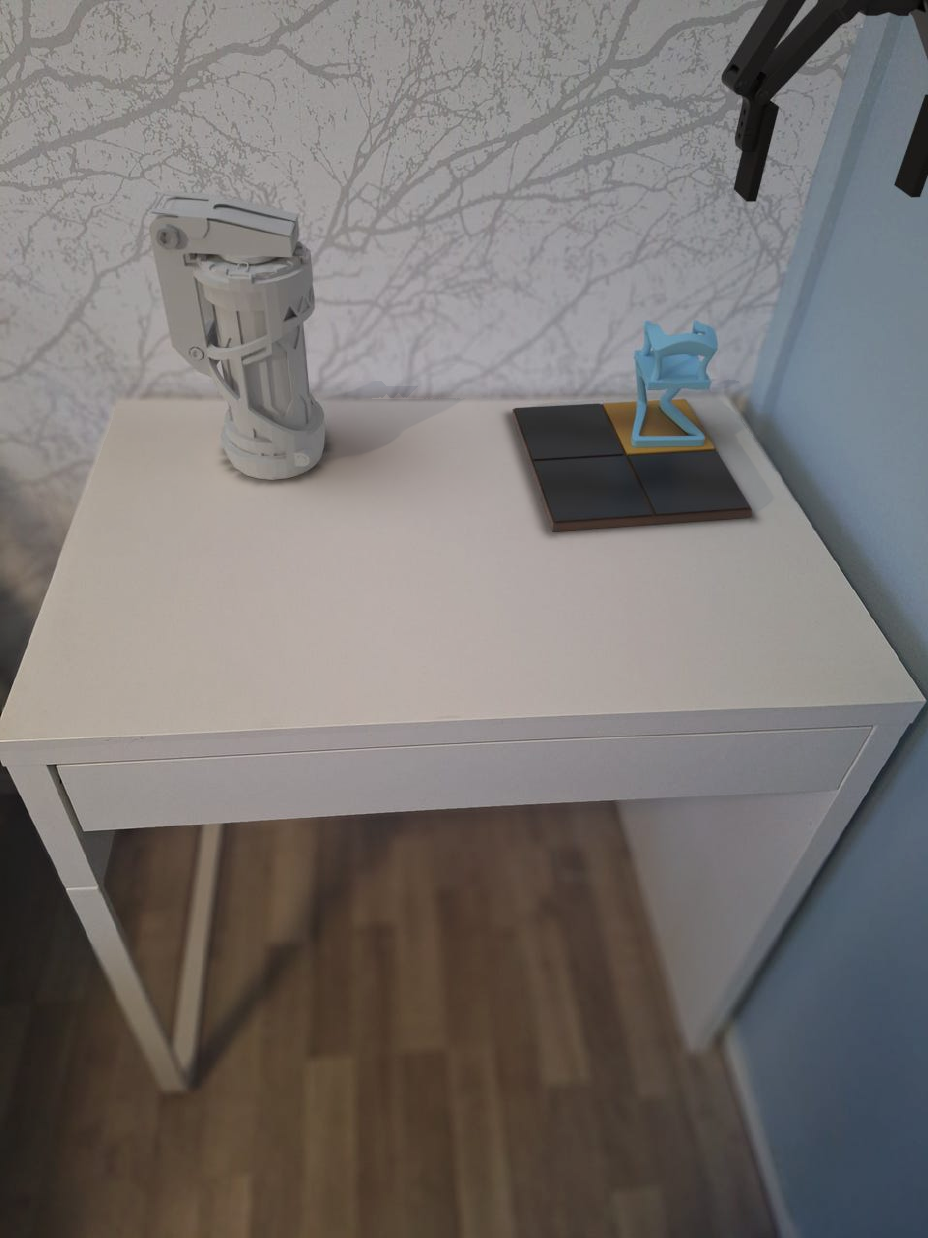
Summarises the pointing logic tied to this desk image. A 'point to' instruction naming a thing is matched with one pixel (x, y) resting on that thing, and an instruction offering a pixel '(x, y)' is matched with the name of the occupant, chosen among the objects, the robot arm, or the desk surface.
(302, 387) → the grey tall piece
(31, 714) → the desk surface
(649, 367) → the chair
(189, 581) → the desk surface
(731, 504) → the board
